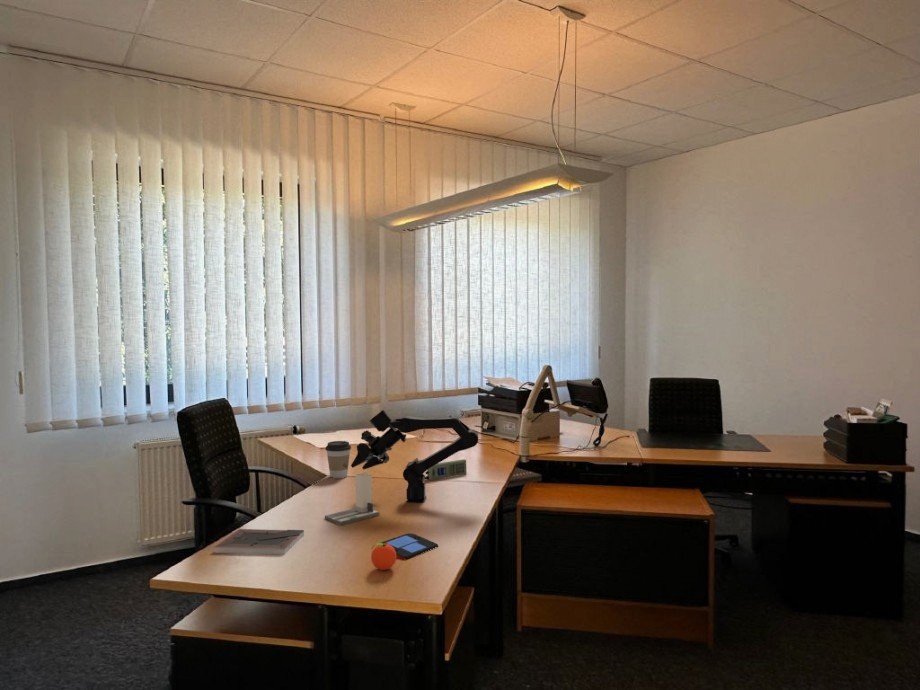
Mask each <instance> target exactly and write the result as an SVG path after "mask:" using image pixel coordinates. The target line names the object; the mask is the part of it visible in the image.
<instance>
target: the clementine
mask: <svg viewBox="0 0 920 690" xmlns="http://www.w3.org/2000/svg"><path fill="white" fill-rule="evenodd" d="M371 549H372V552H371V556H370V557H371V558H370V559H371V562H372V563H371V564H372V565H373V567H374V568H377V569H378V570H381V571H385V570H389V569H391V568H392V567H393V566H394V565H395V563H396V560H397V557H396V551H395V549H394V548H393V547H392V546H391V545H389V544H385V543H384V544H383V543H381V542H378V543H376V544H375V545H373V546H372V547H371Z"/></svg>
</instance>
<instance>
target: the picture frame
mask: <svg viewBox="0 0 920 690" xmlns="http://www.w3.org/2000/svg"><path fill="white" fill-rule="evenodd" d="M304 535H305V530H304V529H287V530H286V529H259V528H258V529H256V528H255V529H253V528H252V529H249V528H248V529H247V528H238V529H237V530H235V531H234V532H233V533H231V534H230V535H229V536H228V537H226V538H224V540H222V541H220V542H219V543H218V544H216V545H215V546H214V547H213V549H214V550H213V551H214V553H216V554H217V553H220V554H248V555H250V554H253V555H255V554H257V555H259V554H260V555H286V554H287V553H288V552H289V551H290V550H291V549H292V548H293V547H294V546H295V545H296V544H297V543H298V542H299V541H300V540H301V539H302V538H303V537H304Z"/></svg>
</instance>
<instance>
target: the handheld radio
mask: <svg viewBox="0 0 920 690" xmlns="http://www.w3.org/2000/svg"><path fill="white" fill-rule="evenodd" d="M462 474H464V475H467V459H465V458H463V459H457V460H450V461H442V462H439V463H438V464H436V465H434V466H432V467H431V468H429V469H427V470H426V471H425V479H424V481H425V480H427V481H432V480H433V481H434V479H435V480H440V479H444V478H445V477H446V478H451V476H452V477H457V475H458V476H463V475H462ZM426 475H427V476H426ZM439 478H440V479H439ZM446 478H445V479H446Z"/></svg>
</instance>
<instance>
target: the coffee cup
mask: <svg viewBox="0 0 920 690" xmlns="http://www.w3.org/2000/svg"><path fill="white" fill-rule="evenodd" d="M324 449H325V451H326V456H327V462H328V463H327V465H328V468H329V469H328V470H329V475H330V478H331V477H333V478H332V479H335V478H339V479H344V478H343V477H345V478H347V477H346V476H348V474H349V473H348V471H349V464H350V463H349V461H350V453H351V449H352V445H351V444H350V443H349V441H347V440H335V441H330V442H328V443H327V445H326V446H325V448H324Z"/></svg>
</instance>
